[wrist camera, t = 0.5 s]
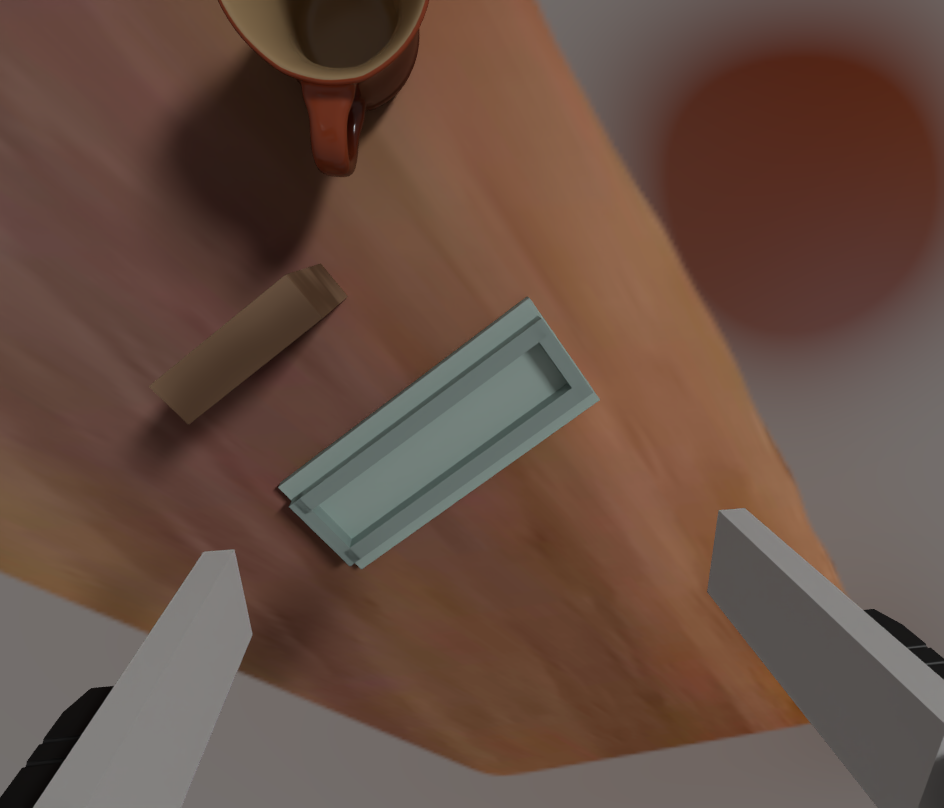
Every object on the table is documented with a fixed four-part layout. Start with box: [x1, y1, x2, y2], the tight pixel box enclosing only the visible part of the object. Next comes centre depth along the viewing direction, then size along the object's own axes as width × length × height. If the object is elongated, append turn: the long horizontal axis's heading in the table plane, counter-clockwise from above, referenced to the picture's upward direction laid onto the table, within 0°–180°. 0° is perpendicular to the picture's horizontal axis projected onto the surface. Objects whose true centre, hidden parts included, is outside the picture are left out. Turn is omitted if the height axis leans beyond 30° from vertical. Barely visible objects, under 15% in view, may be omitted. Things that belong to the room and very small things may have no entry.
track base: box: [278, 297, 600, 569], centre depth 37 cm, size 9×22×2 cm, turn 127°
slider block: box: [149, 264, 348, 425], centre depth 30 cm, size 3×9×9 cm, turn 127°
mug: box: [218, 0, 429, 177], centre depth 25 cm, size 12×9×10 cm
